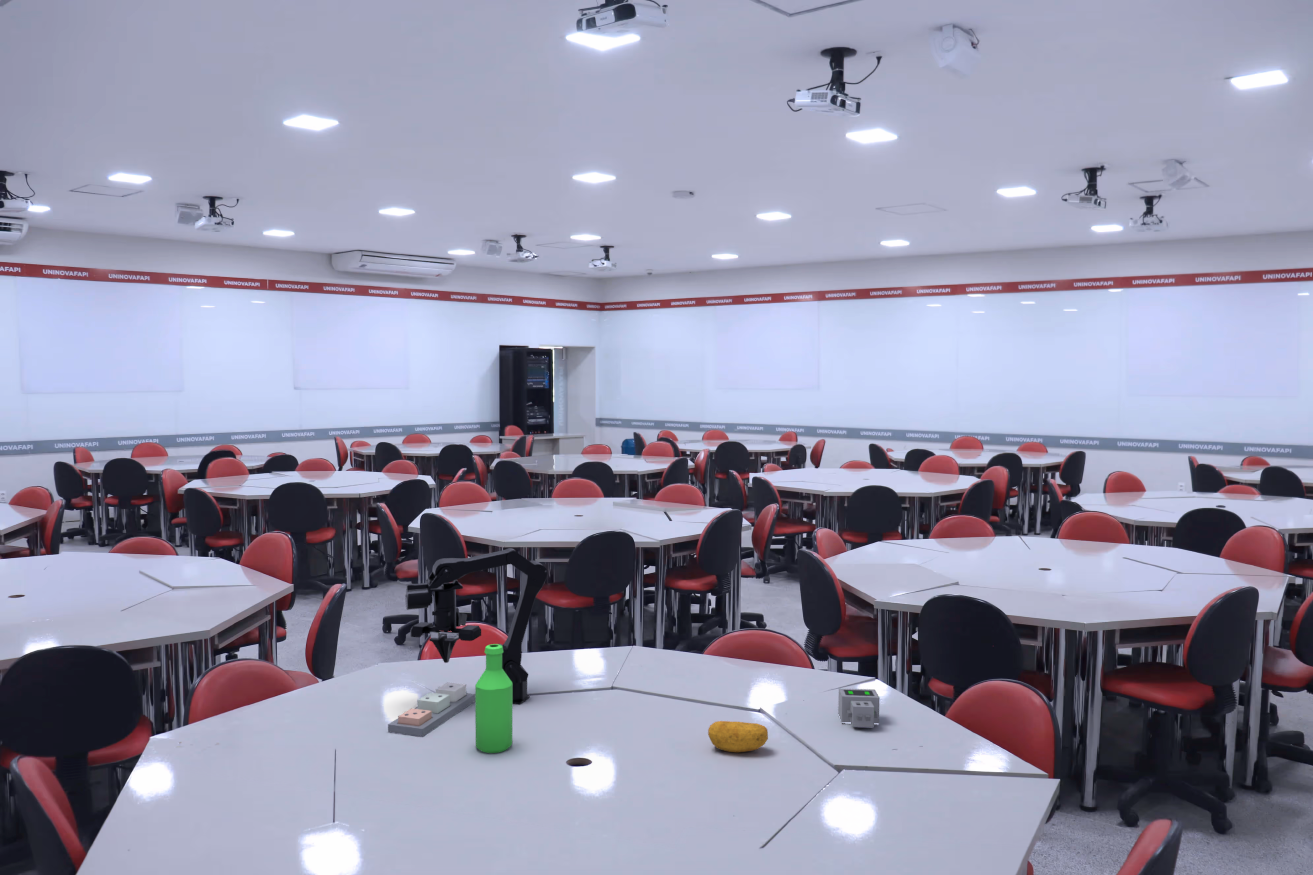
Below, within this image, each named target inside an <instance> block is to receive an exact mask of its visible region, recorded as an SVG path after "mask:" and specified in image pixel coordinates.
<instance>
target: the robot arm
mask: <svg viewBox="0 0 1313 875" xmlns="http://www.w3.org/2000/svg"><path fill="white" fill-rule="evenodd" d="M508 565H511V566H513V567H514V568H516V569H517V570H519V571H520V572H521V578H520V581H521V582H520V584H521V585H520V587H521V591H520V594H519V599H518V601H517V604H516V608H515V611H514V614H513V618H512V621H511V625H510V628H509V631H508V634H507V637H506V640H505V641H504V643H503V644H502V643H498V644H499V645H501V646H502V647H503V653H502V669H503V670H504V672H505V673H506V674H507V676H508V677H509V679H510V680H511V681H512V683H513V701H512V704H518V705H520V704H523V703H524V702H525V701H526V700H528V699H529V698H530V696H531V695H530V694H528V678H529V673H528V672H527V670H526V669H525V668H524V667H523V664H522V658H523V657H522V656H523V654H522V652H523V651H522V647H523V646H522V645H523V641H524V638H525V635H526V631H527V628H528V624H529V621H530V618H531V615H532V610H533V607H534V604H535V600H536V598H537V595H538V594H539V592H540V591H541V590H542V589H543V587H544V585H545V582H546V580H547V579H548V575H549V574H548V572H549V571H548V570H547V568H546V567H545V565H543V564H542V563H540V562H539V561H536V560H529V559H527V557H525V556H523V555H522V554H520V553H519V552H518V551H517V550H516V549H514V548H512V547H510V548H506V549H503V550H499V551H494V552H490V553H485V554H479V555H475V556H471V557H465V558H459V557H458V558H457V557H456V558H455V557H448V558H447V557H446V558H440V559H436V561H435V562H434V564H433V565H432V572H431V573H430V574H429V576H428V577H427V579H426V580H425V582H421V583H406V590H405V595H404V596H405V597H404V598H405V599H404V600H405V608H406V610H407V611H409V610H420V609H428V608H430V607H429V606H432V605H431V604H433V603H434V610H432V612H431V615H432V616H434V624H433V622H429V621H428V622H425V621H420V622H418V623H416V624H414V625H413V626H411V628H410V630H409V633H410V638H421V637H422V636H423V635H424V634H430V638H429V640H428V641H429V642H431V643H432V644H433V645H434V647H435V648H436V650H437V651H438V653H439V655H440V657H441V659H442V661H443V663H445V664H448V663H449V662H450V658H451V656H452V654H453V650H454V648H455V645H456V643H457V641H458V640H460V641H465V642H472V641H475V640H476V639H478V638H479V637H481V636H482V629H481V627H480V626H479V625H472V624H467V618H468V614H466V613H462V612H460V609H459V607H458V606H457V597H456V595H457V594H456V592H457V590H463V589H464V586H463V585H462V584H461V582H459V581H458V580H459V579H461V578H463V577H464V576H466V575H469V574H472V573H476V572H481V571H486V570H489V569H495V568H499V567H503V566H508ZM466 624H467V625H466ZM461 626H463V627H462V628H461ZM459 627H460V628H459Z"/></svg>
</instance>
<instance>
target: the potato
mask: <svg viewBox="0 0 1313 875" xmlns="http://www.w3.org/2000/svg"><path fill="white" fill-rule="evenodd" d="M707 731H708V732H707V734H708V737H709V740H710V742H711V744H712V745H713V746H714V747H715V748H717V749H718V750H721V751H724V752H729V753H745V752H751V751H756V750H758V749H760V748H762V746H765V744H766V742H768V740H769V735H768V728H767V727H766V726H765V725H762V724H760V723H753V722H745V721H728V720H727V721H726V720H724V721H723V720H720V721H719V720H717V721H714V722H713V723H712V724H710V725H709V727H708V729H707Z"/></svg>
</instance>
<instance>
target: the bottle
mask: <svg viewBox="0 0 1313 875" xmlns="http://www.w3.org/2000/svg"><path fill="white" fill-rule="evenodd" d="M499 644H500V643H493V644H492V643H491V644H488V645H486V646H485V648H484V654H485V670H483V673H482V674H481V676H480V677H479V679H478V680H477V681H476V684H475V689H474V690H475V691H474V692H475V693H474V694H475V705H474V706H475V710H474V711H475V713H474V714H475V747H476V749H478V750H479V751H481V752H482V753H487V754H497V753H498V754H499V753H502V752H505V751H506V750H508V749H509V748H510V747H511V746H512V744H513V703H512V701H513V683H512V681H511V680H510V679H509V677H508V676H507V674H506V673H505V672H504V670H503V669H502V653H503V647H502V646H501V645H499Z"/></svg>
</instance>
